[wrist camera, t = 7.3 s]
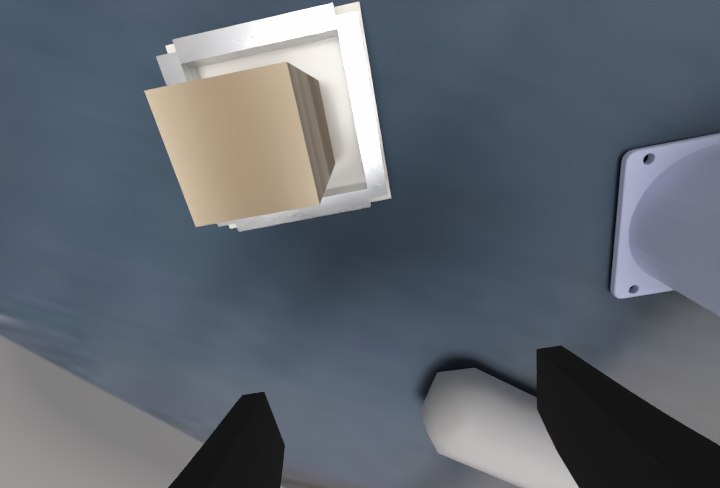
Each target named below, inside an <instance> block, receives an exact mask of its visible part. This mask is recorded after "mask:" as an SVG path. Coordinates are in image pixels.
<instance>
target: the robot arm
mask: <svg viewBox="0 0 720 488" xmlns="http://www.w3.org/2000/svg"><path fill="white" fill-rule="evenodd" d="M647 154H648V159H647V160H646V161H645V162H644V163H643V159H644V157H645V156H646V155H647ZM631 286H633V287H632V288H631V289H630V290H629V288H630V287H631ZM672 290H675V291H677V292H679V293H680V294H682V295H684V296H686V297H687V298H689V299H691V300H692V301H694V302H696V303H697V304H699V305H701V306H703V307H704V308H706V309H708V310H709V311H711V312H713V313H714V314H716V315H718V316H720V133H717V134H711V135H706V136H701V137H696V138H690V139H685V140H680V141H674V142H669V143H664V144H659V145H653V146H648V147H643V148H638V149H633V150H630V151H628V152H627V153H626V154H625V155H624V156H623V158H622V162H621V172H620V184H619V195H618V207H617V218H616V230H615V241H614V253H613V264H612V276H611V287H610V291H611V293H612V294H613V295H614V296H615V297H617V298H619V299H623V298H629V297H635V296H641V295H648V294H654V293H660V292H666V291H672ZM537 410H538V412H539V415H540V417H541V419H542V421H543V423H544V425H545V428H546V430H547V432H548V434H549V436H550V438H551V440H552V442H553V444H554V446H555V448H556V450H557V452H558V454H559V455H560V457H561V459H562V461H563V462H564V464H565V466H566V467H567V469H568V470H569V472H570V474H571V475H572V477H573V479H574V480H575V482H576V484H577V485H578V487H579V488H720V446H719V445H718V444H716V443H714V442H712V441H711V440H709V439H707V438H706V437H704V436H702V435H700V434H699V433H697V432H695V431H694V430H692V429H690V428H688V427H687V426H685V425H683V424H682V423H680V422H678V421H677V420H675V419H674V418H672V417H670V416H669V415H667V414H665V413H664V412H662V411H660V410H659V409H657V408H656V407H654V406H652V405H651V404H649V403H648V402H646V401H645V400H643V399H641V398H640V397H638V396H637V395H635V394H634V393H632V392H630V391H629V390H627V389H626V388H624V387H623V386H621V385H620V384H618V383H617V382H615V381H614V380H612V379H611V378H609V377H608V376H606V375H605V374H603V373H602V372H600V371H599V370H597V369H596V368H594V367H593V366H591V365H590V364H588V363H587V362H585V361H584V360H582V359H581V358H579V357H578V356H576V355H575V354H573V353H572V352H570V351H569V350H567V349H566V348H564V347H563V346H555V347H548V348H542V349H537ZM284 448H285V445H284V442H283V439H282V437H281V434H280V432H279V429H278V426H277V424H276V421H275V419H274V416H273V414H272V411H271V408H270V406H269V403H268V401H267V398H266V395H265V393H264V392H260V393H253V394H247V395H242V396H241V398H240V399H239V400H238V401H237V402H236V404H235V405H234V406H233V407H232V409H231V410H230V411H229V413H228V414H227V415H226V416H225V418H224V419H223V420H222V422H221V423H220V424H219V425H218V427H217V428H216V429H215V431H214V432H213V433H212V434H211V436H210V437H209V438H208V440H207V441H206V442H205V443H204V445H203V446H202V447H201V448H200V450H199V451H198V452H197V453H196V455H195V456H194V457H193V458H192V460H191V461H190V462H189V463H188V465H187V466H186V467H185V468H184V470H183V471H182V472H181V473H180V475H179V476H178V477H177V478H176V479H175V480H174V481H173V483H172V484H171V485H170V486H169V487H168V488H280V484H281V476H282V468H283V458H284Z"/></svg>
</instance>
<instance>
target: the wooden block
mask: <svg viewBox="0 0 720 488" xmlns="http://www.w3.org/2000/svg"><path fill="white" fill-rule="evenodd" d="M145 94H146V96H147V99H148V102H149V104H150V107H151V110H152V112H153V115H154V118H155V120H156V123H157V126H158V128H159V131H160V133H161V136H162V139H163V141H164V144H165V147H166V149H167V152H168V155H169V157H170V160H171V163H172V165H173V168H174V170H175V173H176V176H177V178H178V181H179V184H180V186H181V189H182V192H183V194H184V197H185V200H186V202H187V205H188V208H189V210H190V213H191V215H192V218H193V221H194V223H195V226H196V227H199V226H204V225H210V224H216V223H221V222H227V221H233V220H238V219H244V218H249V217H255V216H261V215H266V214H272V213H278V212H283V211H289V210H294V209H300V208H306V207H311V206H317V205H320V203H321V200H322V198H323V195H324V192H325V190H326V187H327V184H328V182H329V179H330V176H331V174H332V171H333V169H334V166H335V159H334V155H333V150H332V145H331V140H330V135H329V130H328V125H327V120H326V115H325V111H324V106H323V101H322V96H321V91H320V86H319V81H318V80H317V79H315V78H313V77H312V76H310V75H308V74H307V73H305V72H303V71H302V70H300V69H298V68H297V67H295V66H293V65H292V64H290V63H288V62H282V63H277V64H272V65H267V66H263V67H258V68H253V69H248V70H243V71H238V72H233V73H228V74H223V75H219V76H214V77H209V78H204V79H199V80H194V81H189V82H184V83H180V84H175V85H170V86H165V87H160V88H155V89H150V90H145Z"/></svg>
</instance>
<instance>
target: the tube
mask: <svg viewBox="0 0 720 488" xmlns="http://www.w3.org/2000/svg"><path fill="white" fill-rule="evenodd" d="M419 413H420V415H421V418H422V420H423V423H424V425H425V428H426V430H427V433H428V435H429V437H430V439H431V441H432V443H433V444H434V446H435V448H436V450H437V452H438V453H439V454H442V455H444V456H447V457H449V458H451V459H454V460H456V461H459V462H461V463H463V464H466V465H468V466H471V467H473V468H475V469H478V470H480V471H483V472H485V473H487V474H490V475H492V476H495V477H497V478H499V479H502V480H504V481H507V482H509V483H511V484H514V485H516V486H518V487H521V488H579V487H578V485H577V484H576V482H575V480H574V479H573V477H572V475H571V474H570V472H569V470H568V469H567V467H566V466H565V464H564V462H563V461H562V459H561V457H560V455H559V454H558V452H557V450H556V448H555V446H554V444H553V442H552V440H551V438H550V436H549V434H548V432H547V430H546V428H545V425H544V423H543V421H542V419H541V417H540V415H539V412H538V410H537V397H535V396H533V395H530V394H528V393H526V392H524V391H522V390H520V389H518V388H516V387H514V386H512V385H510V384H508V383H505V382H503V381H501V380H499V379H497V378H495V377H493V376H491V375H489V374H487V373H485V372H483V371H480V370H478V369H476V368H468V369H460V370H452V371H444V372H437V374H436V376H435V378H434V380H433V383H432V385H431V387H430V389H429V391H428V394H427V396H426V398H425V401H424V403H423V405H422V408H421V410H420V412H419Z"/></svg>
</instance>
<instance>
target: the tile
mask: <svg viewBox="0 0 720 488" xmlns="http://www.w3.org/2000/svg"><path fill="white" fill-rule="evenodd" d="M334 10H335V15H336V16H337V15H341V14H346V13H350V12H355V11H357V14H358V20H359V26H360V32H361V38H362V44H363V50H364V56H365V62H366V68H367V74H368V80H369V86H370V92H371V98H372V103H373V109H374V115H375V121H376V127H377V133H378V139H379V145H380V151H381V157H382V163H383V169H384V175H385V181H386V187H387V193H388V195H383V196H377V197H372V198H370V202H374V201H380V200H385V199H390V198H391V193H390V187H389V181H388V175H387V168H386V162H385V156H384V150H383V144H382V138H381V132H380V126H379V120H378V113H377V107H376V101H375V95H374V89H373V83H372V77H371V71H370V65H369V58H368V52H367V46H366V40H365V34H364V28H363V22H362V16H361V9H360V3H359V2H355V3H351V4H346V5H342V6H337V7H334ZM166 49H167V52H168V54H169V53H174V52H176V49H175V46H174V44H171V45H167V46H166ZM282 62H288V63H290V64H292V65H293V66H295V67H297V68H298V69H300V70H302V71H303V72H305V73H307V74H308V75H310V76H312V77H313V78H315V79H317V80H318V81H319V86H320V91H321V96H322V101H323V106H324V111H325V115H326V120H327V125H328V130H329V135H330V140H331V145H332V150H333V155H334V159H335V166H334V169H333V171H332V174H331V176H330V179H329V182H328V184H327V187H326V189H332V188H337V187H342V186H347V185H352V184H357V183H363V182H366V178H365V172H364V167H363V162H362V156H361V151H360V146H359V140H358V135H357V130H356V124H355V119H354V114H353V108H352V103H351V98H350V92H349V87H348V82H347V76H346V71H345V66H344V60H343V55H342V50H341V45H340V39H339V36H338V37H333V38H329V39H324V40H320V41H315V42H311V43H306V44H302V45H297V46H293V47H288V48H284V49H279V50H275V51H270V52H266V53H261V54H257V55H252V56H248V57H243V58H239V59H234V60H230V61H225V62H221V63H216V64H212V65H207V66H203V67H198V70H199V73H200V76H201V79H204V78H209V77H214V76H219V75H223V74H228V73H233V72H238V71H243V70H248V69H253V68H258V67H263V66H267V65H272V64H277V63H282ZM229 227H230V229H232V228H237V226H236V223H235V224H230V225H229Z"/></svg>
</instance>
